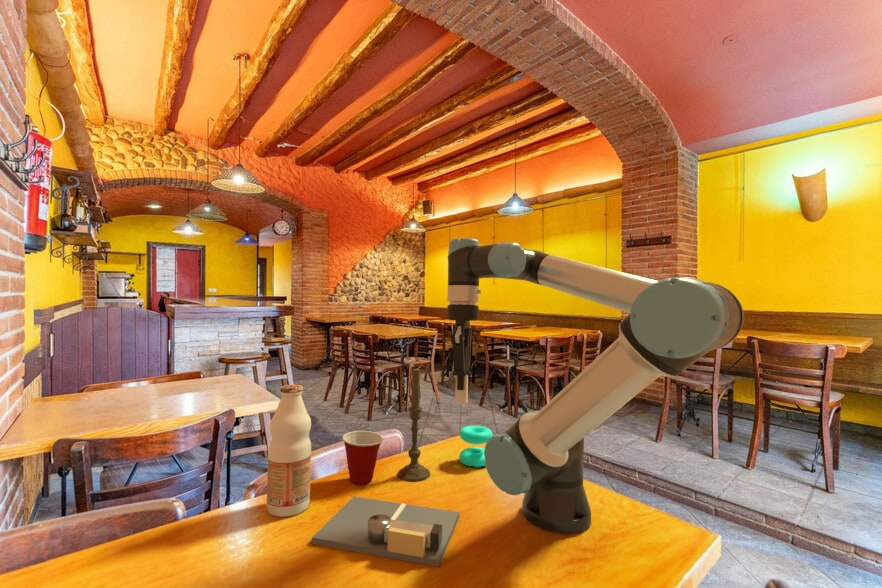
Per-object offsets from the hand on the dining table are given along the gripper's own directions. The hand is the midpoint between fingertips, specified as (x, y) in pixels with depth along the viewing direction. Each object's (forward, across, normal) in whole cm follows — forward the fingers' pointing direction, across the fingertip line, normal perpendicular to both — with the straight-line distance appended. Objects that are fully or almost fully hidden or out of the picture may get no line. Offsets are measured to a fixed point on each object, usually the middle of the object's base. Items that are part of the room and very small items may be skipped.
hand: (461, 402), depth 97 cm
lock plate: (+24, -14, +12) cm, 31 cm away
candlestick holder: (+25, +14, +16) cm, 33 cm away
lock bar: (+23, -20, +7) cm, 31 cm away
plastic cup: (+25, +6, +28) cm, 38 cm away
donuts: (+25, +28, +1) cm, 37 cm away
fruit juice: (+25, -12, +38) cm, 47 cm away
